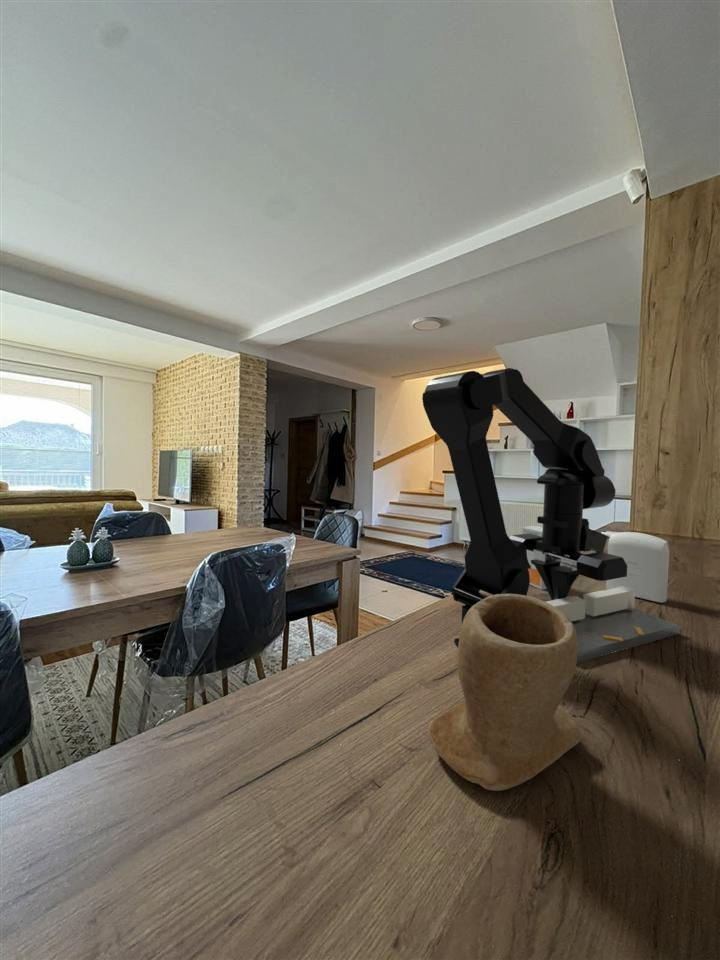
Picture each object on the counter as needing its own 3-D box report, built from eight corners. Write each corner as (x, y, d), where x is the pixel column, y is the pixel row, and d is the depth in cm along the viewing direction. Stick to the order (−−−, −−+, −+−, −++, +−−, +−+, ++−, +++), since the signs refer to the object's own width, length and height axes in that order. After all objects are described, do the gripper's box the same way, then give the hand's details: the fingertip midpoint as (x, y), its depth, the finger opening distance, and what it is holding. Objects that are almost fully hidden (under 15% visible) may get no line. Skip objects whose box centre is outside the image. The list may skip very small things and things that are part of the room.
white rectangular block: (537, 629, 62) (538, 610, 62) (525, 623, 64) (526, 604, 64) (585, 618, 66) (586, 600, 66) (572, 613, 68) (573, 595, 68)
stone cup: (509, 839, 31) (517, 646, 30) (411, 741, 41) (414, 594, 40) (620, 762, 39) (630, 606, 37) (514, 695, 49) (519, 570, 48)
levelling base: (573, 665, 56) (574, 645, 55) (503, 625, 68) (504, 609, 67) (679, 635, 65) (680, 617, 65) (601, 604, 77) (601, 590, 77)
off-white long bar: (622, 602, 73) (623, 585, 73) (636, 607, 71) (637, 590, 71) (581, 611, 69) (582, 593, 69) (594, 616, 67) (595, 598, 67)
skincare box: (518, 581, 90) (521, 526, 89) (533, 578, 92) (535, 525, 91) (541, 590, 84) (544, 532, 83) (556, 587, 86) (559, 530, 85)
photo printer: (602, 590, 85) (605, 530, 84) (610, 585, 87) (613, 527, 86) (662, 605, 77) (667, 539, 76) (669, 600, 80) (674, 536, 78)
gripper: (654, 517, 62) (647, 619, 63) (551, 501, 79) (547, 581, 80) (603, 523, 58) (597, 632, 59) (506, 504, 75) (502, 589, 76)
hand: (558, 605), depth 69 cm, fingers closed
